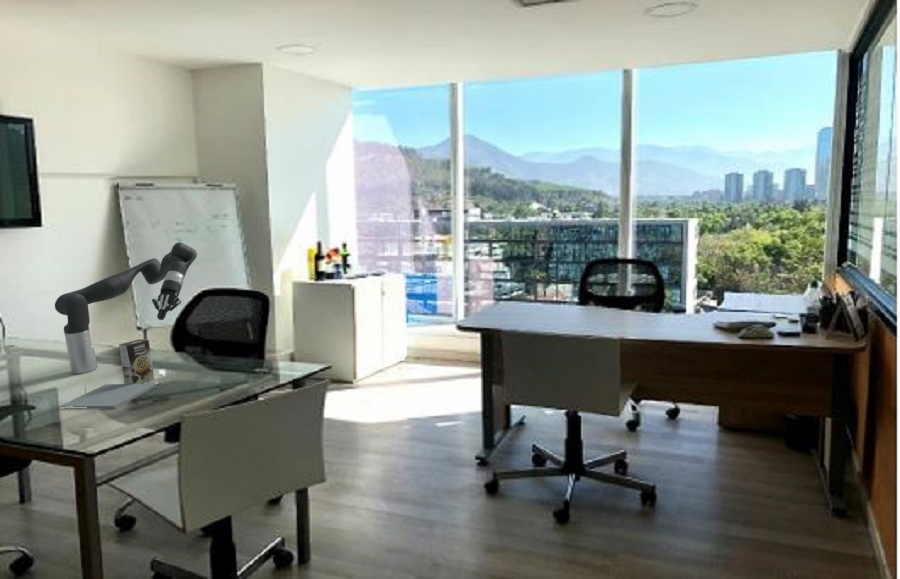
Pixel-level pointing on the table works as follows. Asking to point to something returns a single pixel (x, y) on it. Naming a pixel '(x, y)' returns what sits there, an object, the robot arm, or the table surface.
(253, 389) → the table surface
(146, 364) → the coffee box
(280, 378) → the table surface
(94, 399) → the mat
